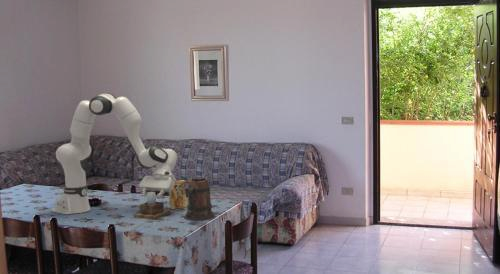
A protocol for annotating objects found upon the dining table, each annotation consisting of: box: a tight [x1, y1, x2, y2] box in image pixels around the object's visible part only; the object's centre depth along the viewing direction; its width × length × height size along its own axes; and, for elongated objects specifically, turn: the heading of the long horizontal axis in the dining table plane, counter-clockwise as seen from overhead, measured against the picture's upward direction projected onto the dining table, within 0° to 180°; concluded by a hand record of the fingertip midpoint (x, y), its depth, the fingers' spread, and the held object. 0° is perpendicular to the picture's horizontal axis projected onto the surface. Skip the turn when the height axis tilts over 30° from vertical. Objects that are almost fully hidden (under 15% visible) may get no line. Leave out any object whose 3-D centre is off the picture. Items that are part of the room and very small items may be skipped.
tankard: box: [183, 177, 217, 222], centre depth 288 cm, size 24×17×20 cm
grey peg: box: [146, 191, 157, 205], centre depth 298 cm, size 4×4×11 cm
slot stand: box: [133, 201, 171, 220], centre depth 298 cm, size 14×14×6 cm
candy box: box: [168, 179, 187, 210], centre depth 314 cm, size 9×4×15 cm, turn 119°
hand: (151, 196), depth 297 cm, fingers open, 8 cm apart
